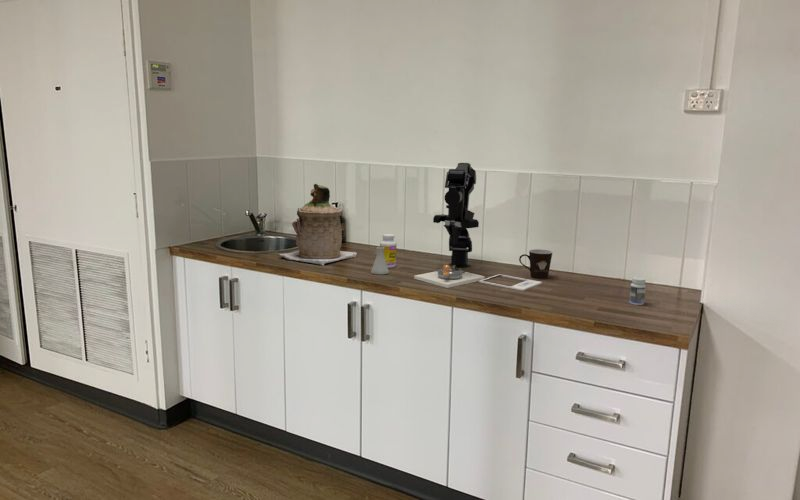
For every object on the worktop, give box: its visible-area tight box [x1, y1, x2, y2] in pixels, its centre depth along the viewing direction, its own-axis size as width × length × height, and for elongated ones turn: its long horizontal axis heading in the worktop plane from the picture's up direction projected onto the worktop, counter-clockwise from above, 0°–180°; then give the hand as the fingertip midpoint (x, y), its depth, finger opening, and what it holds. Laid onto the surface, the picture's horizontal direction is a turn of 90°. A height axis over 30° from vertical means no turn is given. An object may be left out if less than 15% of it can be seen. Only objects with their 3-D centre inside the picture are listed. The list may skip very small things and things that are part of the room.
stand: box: [413, 268, 486, 289], centre depth 229 cm, size 20×17×2 cm
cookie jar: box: [278, 183, 358, 267], centre depth 260 cm, size 25×25×32 cm
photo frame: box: [478, 273, 543, 292], centre depth 226 cm, size 15×1×18 cm
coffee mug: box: [518, 248, 554, 280], centre depth 235 cm, size 12×9×10 cm
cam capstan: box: [437, 264, 463, 279], centre depth 227 cm, size 16×9×6 cm, turn 164°
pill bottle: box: [628, 276, 647, 306], centre depth 201 cm, size 5×5×8 cm
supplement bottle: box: [379, 233, 398, 269], centre depth 248 cm, size 7×7×13 cm
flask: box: [370, 246, 390, 275], centre depth 237 cm, size 7×7×10 cm
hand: (454, 243), depth 235 cm, fingers closed
